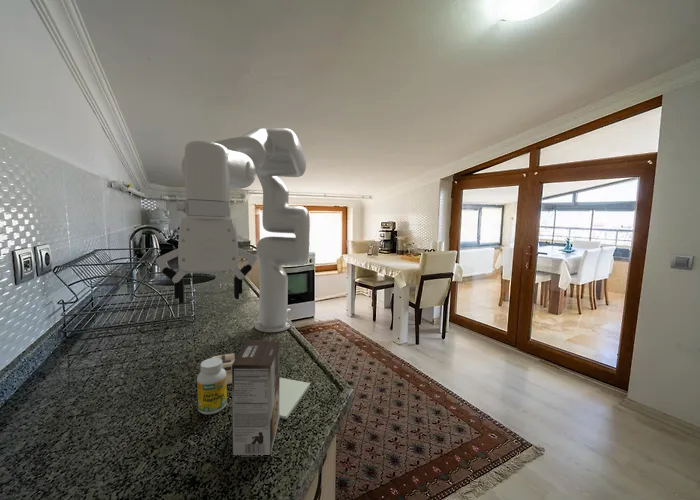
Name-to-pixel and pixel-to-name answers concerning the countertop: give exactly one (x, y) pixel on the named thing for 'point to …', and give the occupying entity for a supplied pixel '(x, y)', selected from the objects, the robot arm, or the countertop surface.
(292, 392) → the sage pad
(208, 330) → the countertop surface
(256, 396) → the coffee box
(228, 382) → the letter cube
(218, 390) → the supplement bottle
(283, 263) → the robot arm
